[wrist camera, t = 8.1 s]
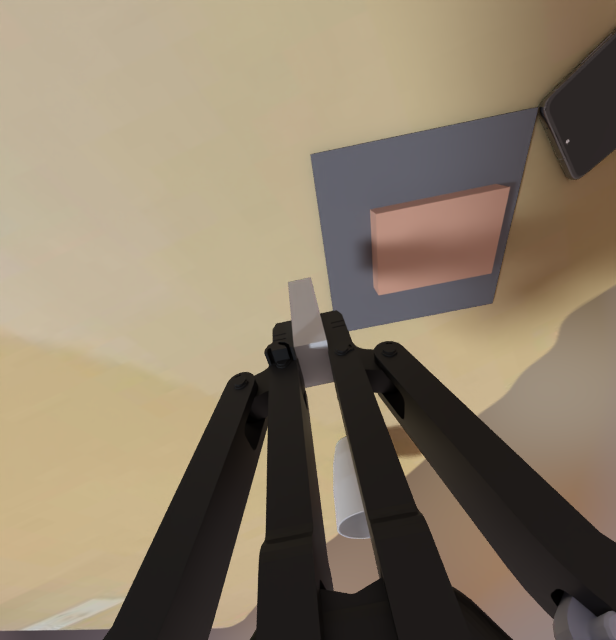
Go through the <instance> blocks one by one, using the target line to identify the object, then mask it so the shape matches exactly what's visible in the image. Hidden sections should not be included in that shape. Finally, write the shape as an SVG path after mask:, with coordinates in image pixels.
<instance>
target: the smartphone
mask: <svg viewBox="0 0 616 640" xmlns="http://www.w3.org/2000/svg"><path fill="white" fill-rule="evenodd" d="M538 116H539V118H540V121H541V123H542V125H543V127H544V129H545V132H546V134H547V136H548V138H549V140H550V143H551V145H552V147H553V149H554V151H555V154H556V156H557V158H558V160H559V162H560V165H561V167H562V169H563V171H564V173H565V175H566V177H567V178H568V179H571V180H577V179H580V178H581V177H583V176H584V175H585V174H586V173H588V172H589V171H590V170H591V169H592V168H594V167H595V166H596V165H597V164H598V163H600V162H601V161H602V160H603V159H604V158H606V157H607V156H608V155H609V154H610V153H612V152H613V151H614V150H615V149H616V29H615V30H614V31H613V32H612V33H611V34H610V35H609V36H608V37H607V38H606V39H605V40H604V41H603V42H602V43H601V44H600V45H599V46H598V47H597V48H595V49H594V50H593V51H592V52H591V53H590V54H589V55H588V56H587V57H586V58H585V59H584V60H583V61H582V62H581V63H580V64H579V65H578V66H577V67H576V68H575V69H574V70H573V71H572V72H571V73H570V74H569V75H568V76H567V77H566V78H565V79H564V80H563V81H562V82H561V83H560V84H559V85H558V86H557V87H556V88H555V89H554V90H553V91H551V92H550V93H549V94H548V95H547V97H546V98H545V99H544V100H543V101H542V102H541V104H540V105H539V108H538Z"/></svg>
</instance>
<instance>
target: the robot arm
mask: <svg viewBox="0 0 616 640" xmlns="http://www.w3.org/2000/svg"><path fill="white" fill-rule="evenodd" d="M288 287H289V299H290V310H291V321H287V322H282V323H277V324H276V325H275V327H274V328H273V343H271V344H270V345H268V346H267V348H266V349H265V352H264V353H265V356H266V359H267V361H268V364H269V367H268V368H267V369H266V370H265V371H263V372H261V373H259V374H257V375H255V376H254V375H253V374H251V373H249V372H242V373H239V374H237V375H235V376H233V377H232V378H231V379H230V380H229V381H228V383H227V385H226V387H225V389H224V391H223V393H222V395H221V397H220V400H219V402H218V404H217V406H216V408H215V410H214V412H213V414H212V416H211V419H210V421H209V423H208V425H207V427H206V429H205V431H204V433H203V436H202V438H201V440H200V442H199V444H198V446H197V448H196V450H195V452H194V455H193V457H192V459H191V461H190V463H189V465H188V467H187V469H186V471H185V474H184V476H183V478H182V480H181V482H180V484H179V486H178V488H177V490H176V493H175V495H174V497H173V499H172V501H171V503H170V505H169V507H168V510H167V512H166V514H165V516H164V518H163V520H162V522H161V524H160V526H159V529H158V531H157V533H156V535H155V537H154V539H153V541H152V543H151V545H150V548H149V550H148V552H147V554H146V556H145V558H144V560H143V562H142V565H141V567H140V569H139V571H138V573H137V575H136V577H135V579H134V581H133V584H132V586H131V588H130V590H129V592H128V594H127V596H126V598H125V600H124V603H123V605H122V607H121V609H120V611H119V613H118V615H117V617H116V619H115V622H114V624H113V626H112V627H111V629H110V630H109V632H108V633H107V635H106V636H105V637H104V639H103V640H208V637H209V634H210V631H211V628H212V625H213V621H214V618H215V614H216V610H217V607H218V603H219V600H220V596H221V592H222V589H223V585H224V582H225V578H226V574H227V571H228V567H229V564H230V560H231V557H232V553H233V549H234V546H235V542H236V539H237V535H238V531H239V528H240V524H241V521H242V517H243V513H244V510H245V506H246V503H247V499H248V495H249V492H250V488H251V485H252V481H253V477H254V474H255V470H256V467H257V463H258V459H259V456H260V452H261V449H262V445H263V441H264V438H265V434H266V431H267V427H268V446H267V497H266V536H265V541H264V543H263V544H262V546H261V549H260V555H259V571H258V599H257V628H256V630H255V632H254V634H253V636H252V637H251V639H250V640H513V639H512V638H510V637H509V636H508V635H507V634H506V633H505V632H504V631H503V630H502V629H501V628H500V627H499V626H498V625H497V624H496V623H495V622H494V621H493V620H492V619H491V618H490V617H489V616H487V615H486V613H485V612H483V611H482V610H481V609H480V608H479V607H478V606H477V605H476V604H475V603H474V602H473V601H472V600H471V599H469V598H468V597H467V596H466V595H464V594H463V593H462V592H460V591H459V590H457V589H456V588H454V587H452V586H451V583H450V581H449V578H448V576H447V573H446V571H445V568H444V565H443V563H442V560H441V558H440V555H439V553H438V550H437V547H436V545H435V542H434V540H433V537H432V534H431V532H430V529H429V527H428V525H427V523H426V520H425V518H424V516H423V515H422V513H420V511H419V510H418V509H417V506H416V504H415V502H414V499H413V496H412V494H411V491H410V488H409V486H408V483H407V480H406V478H405V475H404V472H403V470H402V467H401V464H400V462H399V459H398V456H397V454H396V451H395V448H394V446H393V443H392V440H391V438H390V435H389V432H388V430H387V427H386V424H385V422H384V419H383V416H382V414H381V411H380V409H379V406H378V403H377V401H376V398H375V395H374V393H373V392H375V393H378V395H379V396H380V398H381V399H382V400H383V402H384V403H385V404H386V406H387V407H388V409H389V410H390V411H391V413H392V414H393V415H394V417H395V418H396V419H397V421H398V422H399V423H400V425H401V426H402V427H403V429H404V430H405V431H406V433H407V434H408V435H409V437H410V438H411V439H412V441H413V442H414V443H415V445H416V446H417V447H418V449H419V450H420V451H421V453H422V454H423V455H424V457H425V458H426V459H427V461H428V462H429V463H430V465H431V466H432V467H433V469H434V470H435V471H436V473H437V474H438V475H439V477H440V478H441V479H442V481H443V482H444V483H445V485H446V486H447V487H448V489H449V490H450V491H451V493H452V494H453V495H454V497H455V498H456V499H457V501H458V502H459V503H460V505H461V506H462V507H463V509H464V510H465V511H466V513H467V514H468V515H469V517H470V518H471V519H472V521H473V522H474V523H475V525H476V526H477V528H478V529H479V530H480V531H481V533H482V534H483V536H484V537H485V538H486V539H487V541H488V542H489V544H490V545H491V546H492V548H493V549H494V550H495V551H496V553H497V554H498V556H499V557H500V558H501V560H502V561H503V562H504V564H505V565H506V566H507V568H508V569H509V570H510V571H511V572H512V574H513V575H514V576H515V577H516V579H517V580H518V581H519V582H520V584H521V585H522V586H523V587H524V589H525V590H526V591H527V592H528V593H529V594H530V595H531V596H532V597H533V598H534V599H535V601H536V602H537V603H538V604H539V605H540V606H541V607H542V608H543V609H544V610H545V611H546V612H547V613H548V614H549V615H550V616H551V617H552V618H553V619H554V621H553V630H554V637H555V639H556V640H616V543H615V542H614V541H612V540H611V539H609V538H608V537H606V536H605V535H603V534H602V533H600V532H599V531H598V530H597V529H596V528H595V527H594V526H593V525H592V524H591V523H589V522H588V521H587V520H586V519H585V518H584V517H583V516H582V515H581V514H580V513H579V512H578V511H577V510H576V509H575V508H574V507H573V506H572V505H570V504H569V503H568V502H567V501H566V500H565V499H564V498H563V497H562V496H561V495H560V494H559V493H558V492H557V491H556V490H554V488H552V487H551V486H550V485H549V484H548V483H547V482H546V481H545V480H544V479H543V478H542V477H541V476H540V475H539V474H538V473H537V472H536V471H534V470H533V469H532V468H531V467H530V466H529V465H528V464H527V463H526V462H525V461H524V460H523V459H522V458H521V457H520V456H519V455H517V454H516V453H515V452H514V451H513V450H512V449H511V448H510V447H509V446H508V445H507V444H506V443H505V442H504V441H503V440H501V438H499V437H498V436H497V435H496V434H495V433H494V432H493V431H492V430H491V429H490V428H489V427H488V426H487V425H486V424H485V423H484V422H482V421H481V420H480V419H479V418H478V417H477V416H476V415H475V414H474V413H473V412H472V411H471V410H470V409H469V408H468V407H467V406H466V405H465V404H463V403H462V402H461V401H460V400H459V399H458V398H457V397H456V396H455V395H454V394H453V393H452V392H451V391H450V390H449V389H448V388H447V387H445V386H444V385H443V384H442V383H441V382H440V381H439V380H438V379H437V378H436V377H435V376H434V375H433V374H432V373H431V372H430V371H429V370H427V369H426V368H425V367H424V366H423V365H422V364H421V363H420V362H419V361H418V360H417V359H416V358H415V357H414V356H413V355H412V354H410V353H409V352H408V351H407V350H406V349H405V348H404V347H403V346H402V345H400V344H399V343H397V342H393V341H385V342H381V343H380V344H378V345H377V346H376V347H375V348H374V350H371V349H362V348H359V347H357V346H355V344H353V342H352V340H351V337H350V334H349V332H348V329H347V326H346V324H345V321H344V318H343V315H342V314H341V313H340V312H338V311H337V310H335V311H330V312H326V313H321V314H320V312H319V308H318V304H317V300H316V296H315V292H314V288H313V284H312V280H311V277H309V278H304V279H300V280H295V281H291V282H288ZM331 382H334V383H335V388H336V393H337V398H338V401H339V405H340V410H341V414H342V418H343V423H344V427H345V431H346V435H347V440H348V444H349V448H350V452H351V457H352V461H353V465H354V470H355V474H356V478H357V482H358V487H359V491H360V495H361V499H362V504H363V508H364V512H365V516H366V521H367V525H368V529H369V534H370V538H371V542H372V546H373V550H374V555H375V560H376V564H377V569H378V574H379V578H380V579H379V580H377V581H375V582H373V583H372V584H370V585H368V586H367V587H365V588H364V589H362V590H360V591H358V592H357V593H355V594H347V593H341V592H336V591H334V590H333V583H332V577H331V572H330V568H329V563H328V556H327V549H326V541H325V533H324V525H323V517H322V510H321V502H320V494H319V486H318V478H317V470H316V462H315V454H314V446H313V439H312V431H311V423H310V415H309V407H308V399H307V394H306V391H305V388H307V387H312V386H316V385H321V384H326V383H331Z"/></svg>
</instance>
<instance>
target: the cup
mask: <svg viewBox="0 0 616 640" xmlns="http://www.w3.org/2000/svg"><path fill="white" fill-rule="evenodd" d="M333 491H334V502H335V512H336V522H337V531H338V533H339V534H341V535H342V536H345V537H348V538H355V539H357V538H358V539H364V538H370V534H369V529H368V525H367V521H366V516H365V512H364V508H363V504H362V499H361V495H360V491H359V487H358V482H357V478H356V474H355V470H354V465H353V461H352V457H351V452H350V448H349V444H348V440H347V436H346V437H344V438H342V439H340V440H339V441H338V442H337V444H336V448H335V456H334V463H333Z"/></svg>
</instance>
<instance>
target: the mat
mask: <svg viewBox="0 0 616 640" xmlns="http://www.w3.org/2000/svg"><path fill="white" fill-rule="evenodd" d="M537 111H538V107H536V108H530V109H525V110H521V111H516V112H511V113H506V114H501V115H497V116H492V117H487V118H482V119H477V120H473V121H468V122H463V123H458V124H454V125H449V126H444V127H439V128H434V129H430V130H425V131H420V132H415V133H410V134H406V135H401V136H396V137H391V138H386V139H382V140H377V141H372V142H367V143H362V144H358V145H353V146H348V147H343V148H338V149H334V150H329V151H324V152H319V153H314V154H311V161H312V168H313V175H314V182H315V189H316V196H317V203H318V210H319V217H320V223H321V230H322V237H323V244H324V251H325V258H326V265H327V272H328V279H329V285H330V292H331V299H332V306H333V311H335V310H337V311H338V312H340V313H341V314H342V315H343V318H344V321H345V324H346V326H347V329H348V331H352V330H357V329H362V328H368V327H373V326H378V325H383V324H388V323H393V322H399V321H404V320H409V319H414V318H419V317H424V316H429V315H435V314H440V313H445V312H450V311H455V310H460V309H466V308H471V307H476V306H481V305H486V304H491V303H493V299H494V294H495V290H496V286H497V282H498V277H499V273H500V269H501V264H502V260H503V256H504V252H505V247H506V243H507V239H508V235H509V230H510V226H511V222H512V218H513V213H514V209H515V205H516V201H517V196H518V192H519V188H520V184H521V179H522V175H523V171H524V167H525V162H526V158H527V154H528V150H529V145H530V141H531V137H532V133H533V128H534V124H535V120H536V116H537ZM493 184H499V185H504V186H508V187H510V191H509V195H508V200H507V204H506V209H505V214H504V218H503V223H502V227H501V232H500V237H499V241H498V246H497V250H496V255H495V260H494V264H493V269H492V273H491V274H486V275H481V276H475V277H470V278H465V279H460V280H455V281H450V282H445V283H440V284H435V285H430V286H425V287H419V288H414V289H409V290H404V291H399V292H394V293H389V294H384V295H378V294H377V292H376V290H375V289H374V286H373V264H372V242H371V220H370V209H375V208H380V207H385V206H390V205H395V204H399V203H404V202H409V201H414V200H419V199H424V198H429V197H434V196H439V195H444V194H449V193H454V192H458V191H463V190H468V189H473V188H478V187H483V186H488V185H493Z"/></svg>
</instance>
